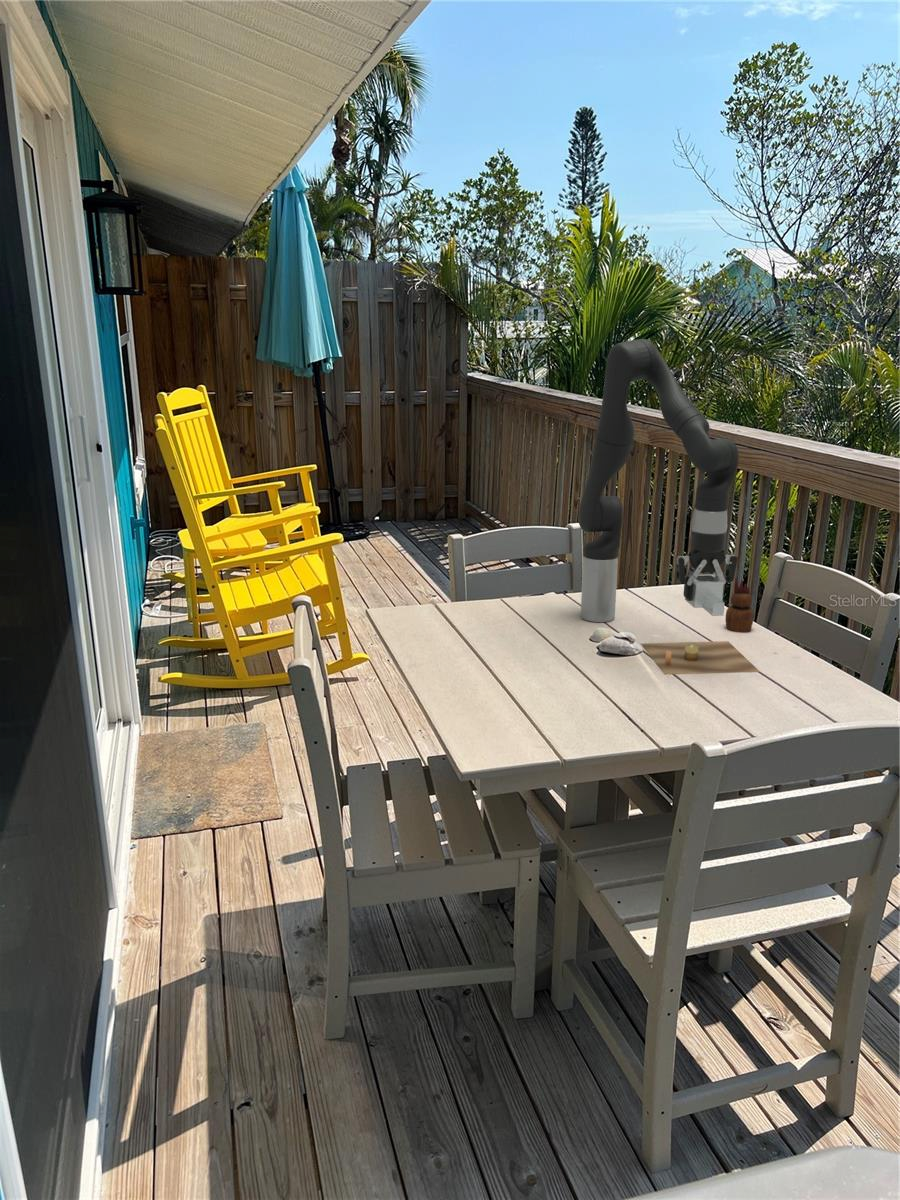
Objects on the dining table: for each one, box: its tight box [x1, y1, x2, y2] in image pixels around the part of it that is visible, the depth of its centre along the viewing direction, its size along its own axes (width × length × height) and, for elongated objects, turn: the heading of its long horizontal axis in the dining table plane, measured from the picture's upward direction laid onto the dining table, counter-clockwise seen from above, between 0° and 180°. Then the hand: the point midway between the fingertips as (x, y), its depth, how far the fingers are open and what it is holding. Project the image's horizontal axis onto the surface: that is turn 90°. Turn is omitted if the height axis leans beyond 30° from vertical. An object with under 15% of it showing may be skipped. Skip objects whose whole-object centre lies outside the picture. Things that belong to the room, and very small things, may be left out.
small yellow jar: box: [684, 641, 699, 661], centre depth 207 cm, size 3×3×4 cm
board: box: [640, 640, 761, 676], centre depth 209 cm, size 20×22×2 cm
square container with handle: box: [684, 573, 726, 617], centre depth 202 cm, size 12×6×6 cm, turn 5°
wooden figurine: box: [725, 577, 755, 633], centre depth 226 cm, size 7×6×15 cm
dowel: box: [665, 651, 672, 665], centre depth 204 cm, size 1×1×3 cm
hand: (703, 599), depth 205 cm, fingers closed on square container with handle, 6 cm apart
